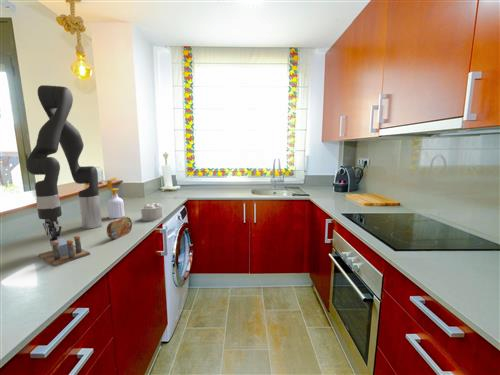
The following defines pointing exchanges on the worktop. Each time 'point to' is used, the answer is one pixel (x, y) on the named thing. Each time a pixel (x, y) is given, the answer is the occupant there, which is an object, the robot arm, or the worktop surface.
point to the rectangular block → (62, 246)
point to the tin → (119, 227)
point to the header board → (73, 253)
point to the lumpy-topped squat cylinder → (152, 212)
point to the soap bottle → (115, 203)
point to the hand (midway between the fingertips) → (54, 246)
